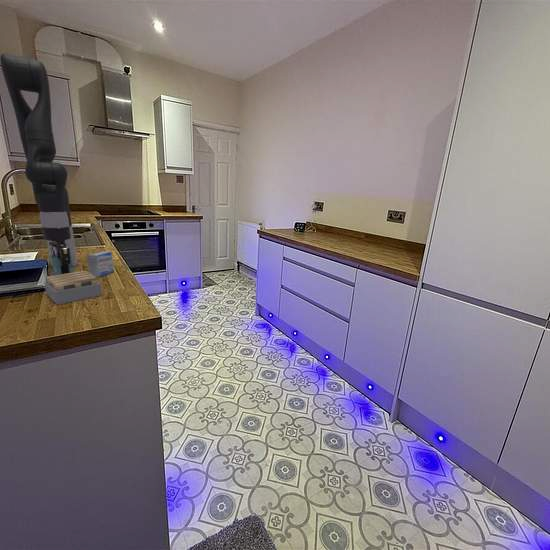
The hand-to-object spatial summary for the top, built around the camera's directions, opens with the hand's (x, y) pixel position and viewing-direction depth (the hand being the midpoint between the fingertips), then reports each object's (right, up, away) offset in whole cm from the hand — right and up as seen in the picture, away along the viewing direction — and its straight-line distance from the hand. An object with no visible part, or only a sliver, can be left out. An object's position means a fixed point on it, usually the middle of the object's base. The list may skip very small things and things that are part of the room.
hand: (63, 273), depth 101 cm
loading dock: (+10, -7, -9) cm, 15 cm away
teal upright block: (0, -1, 0) cm, 1 cm away
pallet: (+10, -3, -10) cm, 14 cm away
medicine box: (+5, 0, +14) cm, 15 cm away
